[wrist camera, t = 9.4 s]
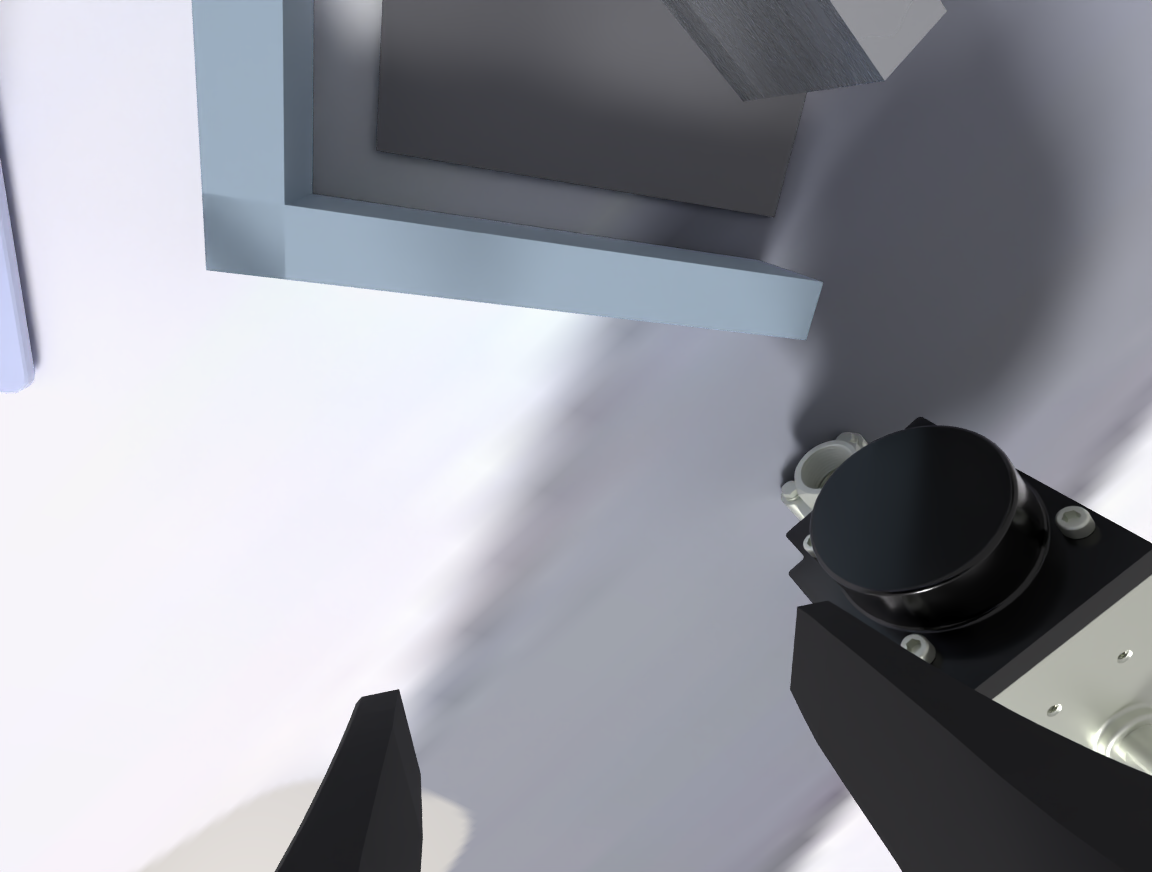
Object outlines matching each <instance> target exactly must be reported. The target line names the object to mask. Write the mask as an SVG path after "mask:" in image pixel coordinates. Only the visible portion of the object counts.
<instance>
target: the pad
mask: <svg viewBox="0 0 1152 872" xmlns="http://www.w3.org/2000/svg"><path fill="white" fill-rule="evenodd" d="M806 94H807V92H805V93H798V94H791V95H784V96H778V97H771V98H764V99H757V100H750V101H742V100H741V98H740V97H739V96H738V95H737V93H736V92H735V91H734V90H733V88H732V87H731V86H730V85H729V84H728V82H727V81H726V80H725V79H724V77H723V76H722V75H721V74H720V73H719V71H718V70H717V69H716V68H715V66H714V65H713V64H712V63H711V61H710V60H709V59H708V58H707V57H706V55H705V54H704V53H703V52H702V50H701V49H700V48H699V47H698V46H697V44H696V43H695V42H694V41H693V39H692V38H691V37H690V36H689V34H688V33H687V32H686V31H685V30H684V28H683V27H682V26H681V25H680V23H679V22H678V21H677V20H676V19H675V17H674V16H673V15H672V14H671V12H670V11H669V10H668V9H667V7H666V6H665V5H664V4H663V3H662V1H661V0H383V1H382V26H381V51H380V76H379V101H378V126H377V151H383V152H389V153H395V154H401V155H407V156H413V157H419V158H425V159H431V160H437V161H442V162H448V163H454V164H460V165H466V166H472V167H478V168H484V169H490V170H496V171H502V172H508V173H514V174H520V175H526V176H532V177H538V178H544V179H550V180H555V181H561V182H567V183H573V184H579V185H585V186H591V187H597V188H603V189H609V190H615V191H621V192H627V193H633V194H639V195H645V196H651V197H657V198H663V199H669V200H674V201H680V202H686V203H692V204H698V205H704V206H710V207H716V208H722V209H728V210H734V211H740V212H746V213H752V214H758V215H764V216H770V217H774V216H775V213H776V209H777V205H778V201H779V197H780V193H781V190H782V186H783V182H784V178H785V174H786V170H787V167H788V163H789V159H790V155H791V151H792V148H793V144H794V140H795V136H796V132H797V128H798V125H799V121H800V117H801V113H802V109H803V105H804V102H805V98H806Z"/></svg>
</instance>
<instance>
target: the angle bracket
mask: <svg viewBox="0 0 1152 872" xmlns="http://www.w3.org/2000/svg"><path fill="white" fill-rule="evenodd" d="M661 1H662V3H663V4H664V5H665V6H666V7H667V9H668V10H669V11H670V12H671V14H672V15H673V16H674V17H675V19H676V20H677V21H678V22H679V23H680V25H681V26H682V27H683V28H684V30H685V31H686V32H687V33H688V34H689V36H690V37H691V38H692V39H693V41H694V42H695V43H696V44H697V46H698V47H699V48H700V49H701V50H702V52H703V53H704V54H705V55H706V57H707V58H708V59H709V60H710V61H711V63H712V64H713V65H714V66H715V68H716V69H717V70H718V71H719V73H720V74H721V75H722V76H723V77H724V79H725V80H726V81H727V82H728V84H729V85H730V86H731V87H732V88H733V90H734V91H735V92H736V93H737V95H738V96H739V97H740V98H741V100H742V101H750V100H757V99H764V98H771V97H778V96H784V95H791V94H798V93H805V92H812V91H818V90H825V89H832V88H839V87H846V86H853V85H859V84H866V83H873V82H880V81H885V80H886V79H887V78H888V77H889V76H890V74H891V73H892V72H893V71H894V70H895V69H896V68H897V67H898V65H899V64H900V63H901V62H902V61H903V60H904V59H905V58H906V57H907V55H908V54H909V53H910V52H911V51H912V50H913V49H914V48H915V46H916V45H917V44H918V43H919V42H920V41H921V40H922V39H923V37H924V36H925V35H926V34H927V33H928V32H929V31H930V30H931V28H932V27H933V26H934V25H935V24H936V23H937V22H938V21H939V20H940V18H941V17H942V16H943V15H944V14H945V13H946V12H947V10H946V9H945V7H944V5H943V4H942V2H941V0H661Z"/></svg>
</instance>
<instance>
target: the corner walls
mask: <svg viewBox="0 0 1152 872" xmlns="http://www.w3.org/2000/svg"><path fill="white" fill-rule="evenodd" d="M192 15H193V34H194V52H195V71H196V89H197V108H198V126H199V145H200V163H201V181H202V200H203V218H204V237H205V255H206V270H210V271H218V272H227V273H235V274H244V275H253V276H261V277H270V278H278V279H287V280H295V281H304V282H312V283H321V284H330V285H338V286H347V287H355V288H364V289H372V290H381V291H389V292H398V293H407V294H415V295H424V296H432V297H441V298H449V299H458V300H466V301H475V302H484V303H492V304H501V305H509V306H518V307H526V308H535V309H543V310H552V311H560V312H569V313H578V314H586V315H595V316H603V317H612V318H620V319H629V320H637V321H646V322H655V323H663V324H672V325H680V326H689V327H697V328H706V329H714V330H723V331H732V332H740V333H749V334H757V335H766V336H774V337H783V338H791V339H800V340H806V339H807V335H808V332H809V329H810V325H811V322H812V319H813V315H814V312H815V309H816V305H817V302H818V299H819V295H820V292H821V289H822V285H823V282H822V281H819V280H816V279H813V278H810V277H807V276H804V275H801V274H799V273H796V272H793V271H790V270H787V269H784V268H781V267H778V266H775V265H772V264H769V263H766V262H763V261H761V260H755V259H748V258H741V257H735V256H728V255H721V254H715V253H708V252H701V251H694V250H688V249H681V248H674V247H667V246H661V245H654V244H647V243H641V242H634V241H627V240H620V239H614V238H607V237H600V236H594V235H587V234H580V233H573V232H567V231H560V230H553V229H546V228H540V227H533V226H526V225H520V224H513V223H506V222H499V221H493V220H486V219H479V218H473V217H466V216H459V215H452V214H446V213H439V212H432V211H425V210H419V209H412V208H405V207H399V206H392V205H385V204H378V203H372V202H365V201H358V200H351V199H345V198H338V197H331V196H325V195H318V194H313V35H314V0H192Z"/></svg>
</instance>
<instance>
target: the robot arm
mask: <svg viewBox="0 0 1152 872" xmlns="http://www.w3.org/2000/svg"><path fill="white" fill-rule="evenodd" d="M34 376H35V371H34V365H33V358H32V352H31V346H30V340H29V334H28V327H27V321H26V315H25V309H24V303H23V296H22V290H21V284H20V278H19V272H18V265H17V259H16V253H15V247H14V241H13V234H12V228H11V222H10V216H9V210H8V203H7V197H6V191H5V185H4V179H3V172H2V166H1V160H0V393H5V394H10V393H17V392H19V391H21V390H23V389H25V388H27V387H28V386H30V385H31V383H32V382H33V381H34ZM790 690H791V692H792V694H793V696H794V698H795V700H796V702H797V704H798V706H799V709H800V711H801V713H802V715H803V717H804V719H805V721H806V723H807V724H808V726H809V728H810V730H811V732H812V734H813V736H814V738H815V740H816V742H817V743H818V745H819V746H820V748H821V749H822V751H823V753H824V754H825V756H826V757H827V759H828V760H829V762H830V763H831V765H832V766H833V768H834V769H835V771H836V772H837V774H838V775H839V777H840V779H841V780H842V782H843V783H844V785H845V786H846V788H847V789H848V791H849V792H850V794H851V795H852V797H853V798H854V800H855V801H856V803H857V804H858V806H859V807H860V809H861V810H862V812H863V813H864V814H865V816H866V817H867V819H868V820H869V822H870V823H871V825H872V826H873V828H874V829H875V831H876V832H877V834H878V835H879V837H880V838H881V840H882V841H883V843H884V844H885V846H886V847H887V849H888V850H889V852H890V853H891V855H892V856H893V858H894V859H895V861H896V862H897V864H898V866H899V867H900V869H901V870H902V872H1152V775H1149V774H1147V773H1145V772H1142V771H1140V770H1137V769H1135V768H1132V767H1130V766H1128V765H1125V764H1123V763H1120V762H1118V761H1116V760H1114V759H1111V758H1109V757H1107V756H1105V755H1102V754H1100V753H1098V752H1096V751H1093V750H1091V749H1089V748H1087V747H1085V746H1083V745H1081V744H1079V743H1076V742H1074V741H1072V740H1070V739H1068V738H1066V737H1064V736H1062V735H1060V734H1058V733H1056V732H1054V731H1051V730H1049V729H1047V728H1045V727H1043V726H1041V725H1039V724H1037V723H1035V722H1033V721H1031V720H1029V719H1027V718H1025V717H1023V716H1021V715H1019V714H1018V713H1016V712H1014V711H1012V710H1010V709H1008V708H1006V707H1005V706H1003V705H1001V704H999V703H997V702H995V701H994V700H992V699H990V698H988V697H986V696H985V695H983V694H981V693H979V692H977V691H975V690H974V689H972V688H970V687H968V686H967V685H965V684H963V683H961V682H960V681H958V680H956V679H955V678H953V677H951V676H949V675H948V674H946V673H944V672H943V671H941V670H939V669H938V668H936V667H934V666H933V665H931V664H929V663H928V662H926V661H924V660H923V659H921V658H920V657H918V656H916V655H915V654H913V653H911V652H910V651H908V650H907V649H905V648H903V647H902V646H900V645H899V644H897V643H895V642H894V641H892V640H891V639H889V638H888V637H886V636H884V635H883V634H881V633H880V632H878V631H876V630H875V629H873V628H872V627H870V626H869V625H867V624H865V623H864V622H862V621H861V620H859V619H857V618H856V617H854V616H853V615H851V614H850V613H848V612H846V611H845V610H843V609H841V608H840V607H838V606H836V605H835V604H833V603H831V602H830V601H823V602H818V603H813V604H808V605H804V606H799V607H797V618H796V629H795V640H794V652H793V663H792V675H791V686H790ZM422 840H423V833H422V799H421V774H420V770H419V766H418V762H417V758H416V754H415V750H414V746H413V742H412V738H411V734H410V730H409V727H408V723H407V719H406V715H405V711H404V707H403V703H402V699H401V695H400V691H399V689H398V690H393V691H388V692H383V693H379V694H374V695H369V696H364V697H361V698H360V700H359V701H358V702H357V703H356V705H355V708H354V710H353V713H352V716H351V718H350V721H349V723H348V725H347V728H346V730H345V733H344V735H343V737H342V740H341V742H340V744H339V746H338V749H337V751H336V753H335V755H334V757H333V760H332V762H331V764H330V766H329V768H328V770H327V773H326V775H325V777H324V779H323V781H322V783H321V785H320V787H319V789H318V791H317V793H316V795H315V797H314V799H313V801H312V803H311V805H310V807H309V809H308V811H307V813H306V815H305V817H304V819H303V821H302V823H301V825H300V827H299V829H298V831H297V833H296V835H295V836H294V838H293V840H292V842H291V843H290V845H289V847H288V849H287V851H286V852H285V855H284V856H283V858H282V860H281V861H280V863H279V865H278V867H277V869H276V871H275V872H420V871H421V857H422Z"/></svg>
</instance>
